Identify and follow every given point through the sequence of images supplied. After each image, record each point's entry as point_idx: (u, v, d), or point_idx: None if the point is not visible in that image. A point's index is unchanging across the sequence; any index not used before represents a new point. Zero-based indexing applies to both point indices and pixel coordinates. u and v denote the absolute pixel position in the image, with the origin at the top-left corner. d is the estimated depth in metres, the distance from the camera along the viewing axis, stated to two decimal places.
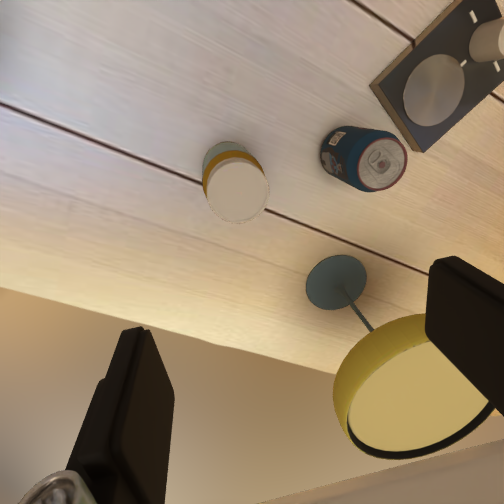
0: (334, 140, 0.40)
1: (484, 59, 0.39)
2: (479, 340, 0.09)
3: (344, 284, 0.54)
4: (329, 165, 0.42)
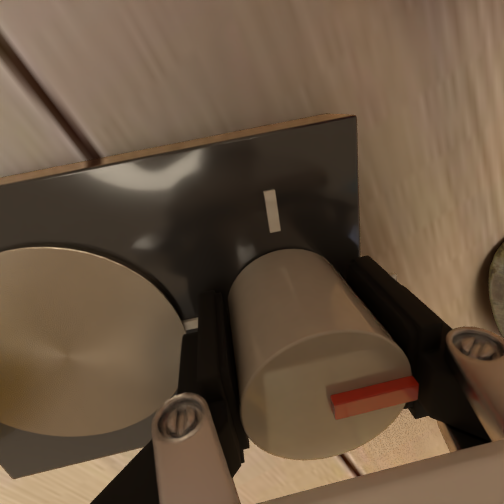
0: None
1: None
2: None
3: None
4: None
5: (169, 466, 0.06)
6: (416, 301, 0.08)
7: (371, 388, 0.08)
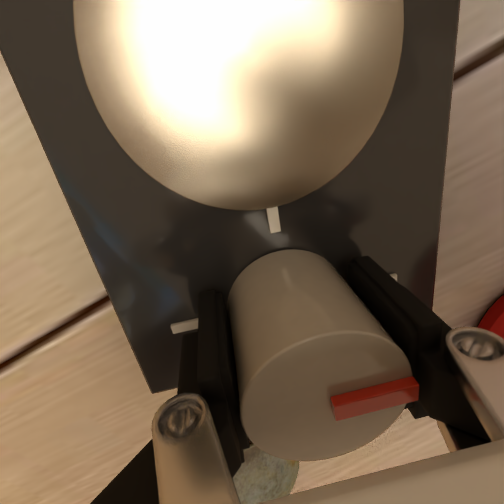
0: None
1: None
2: None
3: None
4: None
5: (169, 466, 0.06)
6: (416, 301, 0.08)
7: (371, 389, 0.08)
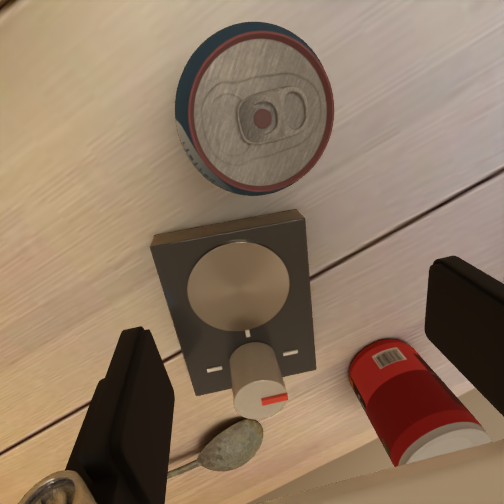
0: None
1: None
2: (479, 340, 0.09)
3: None
4: None
5: None
6: None
7: (273, 396, 0.25)
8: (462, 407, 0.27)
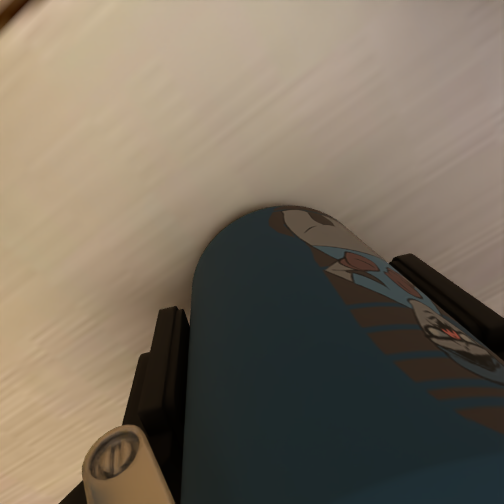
0: None
1: None
2: None
3: None
4: (342, 241, 0.09)
5: None
6: (476, 300, 0.08)
7: None
8: None
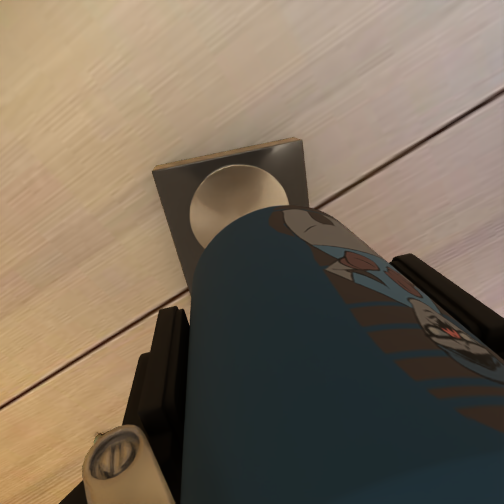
0: None
1: None
2: None
3: None
4: (342, 240, 0.09)
5: None
6: (475, 300, 0.08)
7: None
8: None
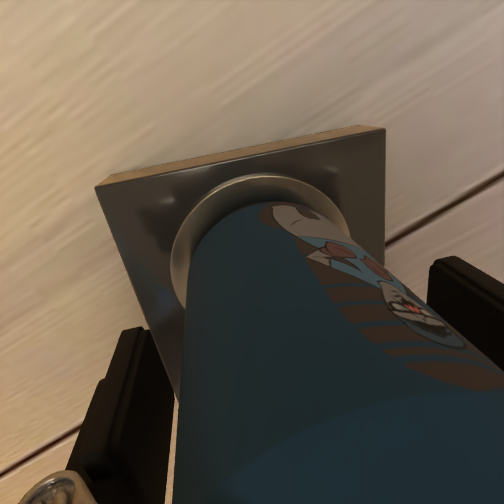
0: None
1: None
2: (479, 340, 0.09)
3: None
4: (325, 233, 0.09)
5: None
6: None
7: None
8: None
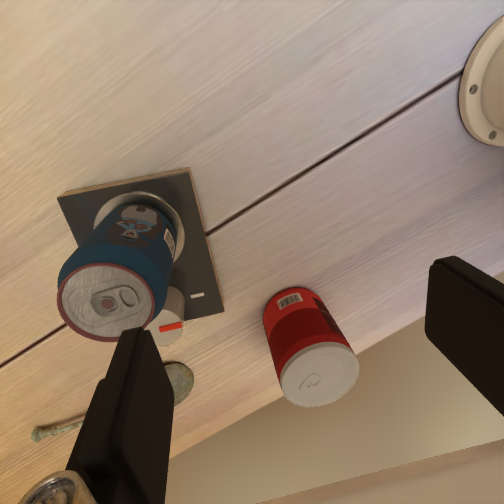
0: (168, 239, 0.26)
1: None
2: (479, 340, 0.09)
3: None
4: (135, 216, 0.25)
5: None
6: None
7: (169, 324, 0.30)
8: (336, 333, 0.31)
